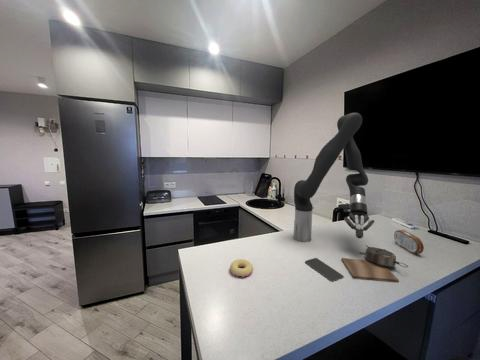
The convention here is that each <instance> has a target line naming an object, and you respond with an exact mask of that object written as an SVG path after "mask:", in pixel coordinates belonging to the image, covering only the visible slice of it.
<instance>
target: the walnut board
mask: <svg viewBox="0 0 480 360" xmlns="http://www.w3.org/2000/svg"><path fill="white" fill-rule="evenodd" d="M340 259H341V262H342V263H343V265H344V266H345V268H346V269H347V271H348V273H349V274H350V276H351V277H352V279H357V280H359V279H360V280H369V281H370V280H371V281H381V282H393V283H399V282H400V280H399V278H398V277H397V276H396V275H395V274H394V273H393V272H392V271H391V270H390V269H389V268H388V266H383V265H379V264H376V263H373V262H371V261H369V260H367V259H359V258H346V257H341V258H340Z"/></svg>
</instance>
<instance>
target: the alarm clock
mask: <svg viewBox="0 0 480 360" xmlns="http://www.w3.org/2000/svg"><path fill="white" fill-rule="evenodd" d="M365 246H366V248H365V252H361V251H360V252H359V254H360V255H364V257H365V260H369V261H371V262H373V263H376V264H379V265H383V266H386V267H389V268H390V267H392V268H393V267H395V266H396V264H397V265H399V266H400V267H402V268H409V265H408V264H406V263H403V262H399V261H397V255H396V254H395V253H393V252H391V251H389V250H387V249H386V248H380V247H373V246H368V245H367V244H365ZM401 264H403V265H401Z"/></svg>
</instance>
